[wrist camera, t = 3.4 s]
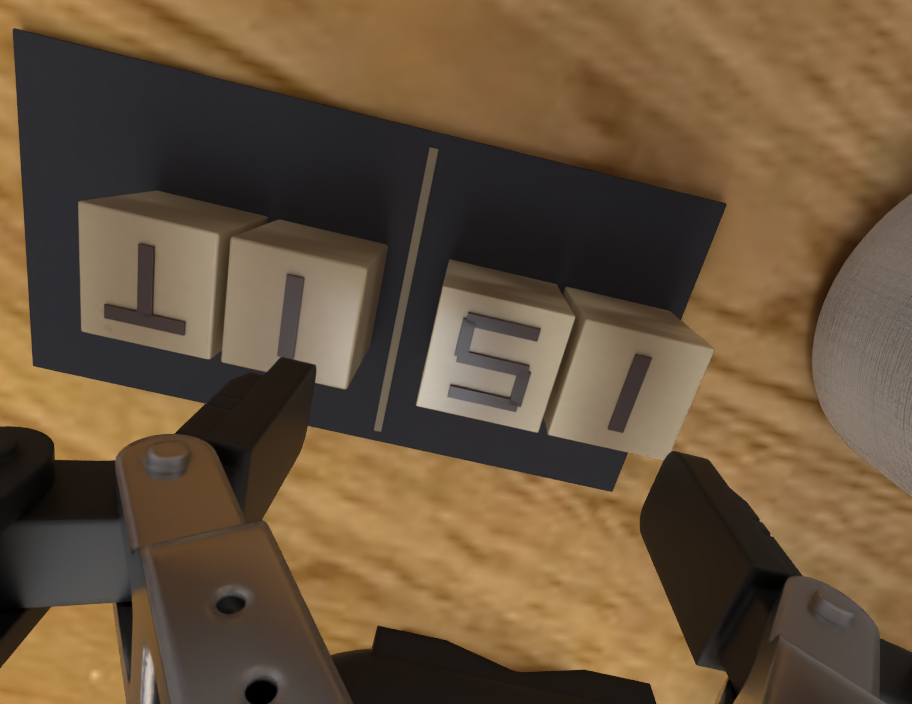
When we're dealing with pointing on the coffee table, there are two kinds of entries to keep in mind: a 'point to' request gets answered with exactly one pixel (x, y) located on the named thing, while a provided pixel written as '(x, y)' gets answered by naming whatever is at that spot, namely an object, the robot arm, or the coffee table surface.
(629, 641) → the coffee table surface
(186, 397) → the word board
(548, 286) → the letter S
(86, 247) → the letter T
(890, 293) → the planter
